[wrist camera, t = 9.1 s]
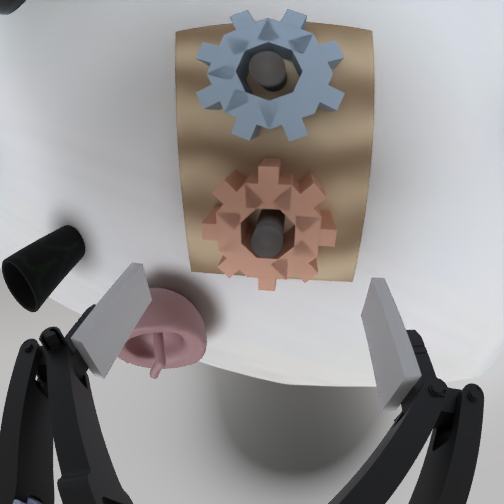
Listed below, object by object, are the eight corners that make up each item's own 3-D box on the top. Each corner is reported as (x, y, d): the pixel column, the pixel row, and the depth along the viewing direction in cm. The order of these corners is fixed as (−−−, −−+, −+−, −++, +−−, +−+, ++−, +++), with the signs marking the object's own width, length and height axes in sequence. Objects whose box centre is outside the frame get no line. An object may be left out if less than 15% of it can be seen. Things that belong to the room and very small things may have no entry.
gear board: (181, 35, 19) (145, 15, 13) (367, 34, 17) (393, 10, 11) (195, 264, 32) (172, 304, 25) (350, 274, 29) (362, 318, 23)
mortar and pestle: (190, 348, 39) (166, 408, 29) (126, 304, 37) (87, 358, 27) (234, 307, 34) (212, 379, 24) (156, 251, 32) (106, 310, 22)
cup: (93, 233, 32) (34, 281, 22) (88, 273, 36) (40, 322, 25) (57, 210, 31) (-2, 248, 21) (54, 250, 35) (5, 291, 24)
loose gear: (212, 157, 24) (196, 166, 20) (334, 161, 23) (342, 171, 19) (219, 261, 29) (207, 285, 25) (323, 268, 28) (327, 293, 24)
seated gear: (192, 55, 19) (173, 45, 15) (305, 11, 16) (307, -9, 12) (240, 156, 24) (229, 164, 20) (355, 116, 20) (368, 116, 16)
